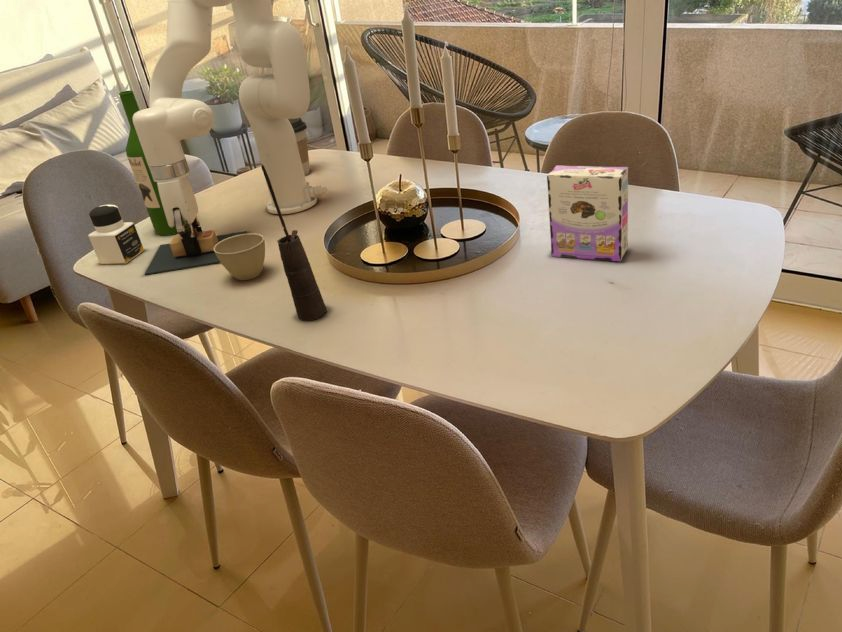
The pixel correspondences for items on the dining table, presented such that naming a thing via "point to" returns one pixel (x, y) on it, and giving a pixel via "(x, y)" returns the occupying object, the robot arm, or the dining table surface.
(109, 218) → the medicine bottle
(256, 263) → the beige bowl
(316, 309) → the butter churn
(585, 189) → the candy box
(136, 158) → the wine bottle
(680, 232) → the dining table surface
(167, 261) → the desk mat
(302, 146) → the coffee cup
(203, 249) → the stamp
